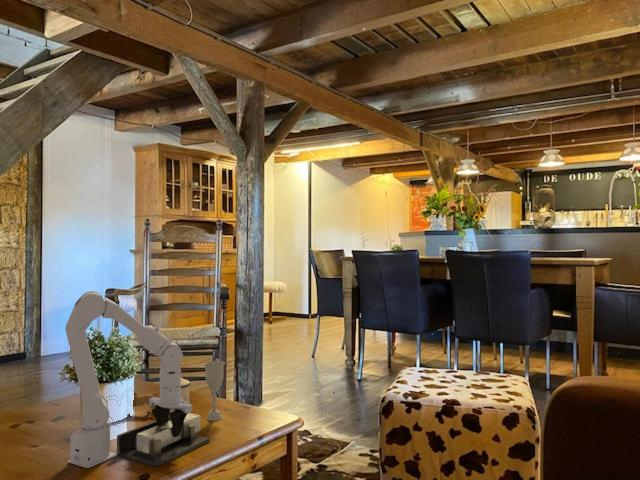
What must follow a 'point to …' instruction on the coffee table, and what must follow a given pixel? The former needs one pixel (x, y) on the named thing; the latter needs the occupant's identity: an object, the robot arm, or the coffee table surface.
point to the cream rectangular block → (165, 433)
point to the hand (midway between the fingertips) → (170, 434)
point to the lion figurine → (143, 401)
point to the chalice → (214, 384)
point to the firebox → (157, 446)
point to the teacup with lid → (184, 391)
